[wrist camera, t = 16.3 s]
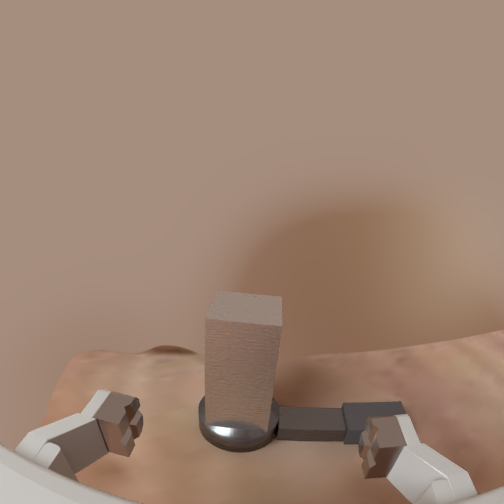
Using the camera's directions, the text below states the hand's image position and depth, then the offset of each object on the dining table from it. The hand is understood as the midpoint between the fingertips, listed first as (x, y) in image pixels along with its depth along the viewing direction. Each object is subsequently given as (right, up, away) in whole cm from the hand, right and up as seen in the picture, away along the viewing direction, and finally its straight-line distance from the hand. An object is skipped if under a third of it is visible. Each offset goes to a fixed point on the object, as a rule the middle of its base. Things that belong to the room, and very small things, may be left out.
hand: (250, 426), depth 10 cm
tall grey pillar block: (-1, -8, +16) cm, 17 cm away
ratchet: (+5, -10, +16) cm, 19 cm away
